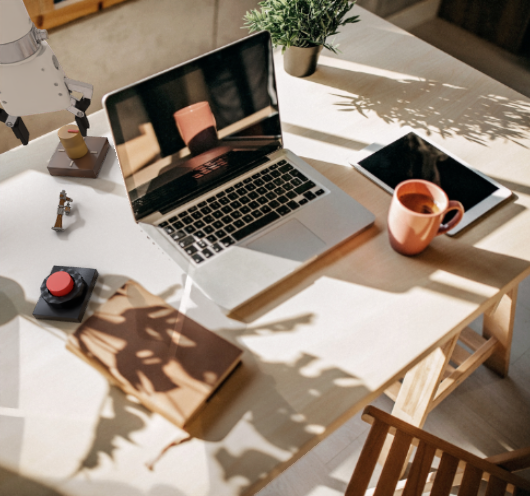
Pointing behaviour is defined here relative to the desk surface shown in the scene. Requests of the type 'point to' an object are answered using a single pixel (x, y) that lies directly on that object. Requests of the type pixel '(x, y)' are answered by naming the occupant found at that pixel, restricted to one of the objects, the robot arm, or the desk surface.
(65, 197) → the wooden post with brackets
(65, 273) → the light button
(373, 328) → the desk surface
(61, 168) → the dimmer console
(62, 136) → the dimmer knob
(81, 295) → the switch box
